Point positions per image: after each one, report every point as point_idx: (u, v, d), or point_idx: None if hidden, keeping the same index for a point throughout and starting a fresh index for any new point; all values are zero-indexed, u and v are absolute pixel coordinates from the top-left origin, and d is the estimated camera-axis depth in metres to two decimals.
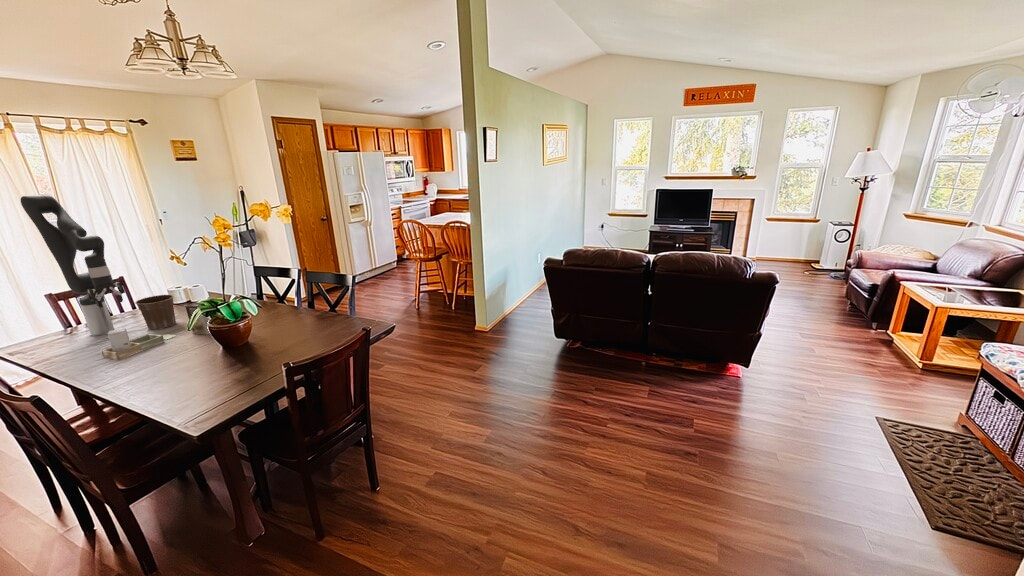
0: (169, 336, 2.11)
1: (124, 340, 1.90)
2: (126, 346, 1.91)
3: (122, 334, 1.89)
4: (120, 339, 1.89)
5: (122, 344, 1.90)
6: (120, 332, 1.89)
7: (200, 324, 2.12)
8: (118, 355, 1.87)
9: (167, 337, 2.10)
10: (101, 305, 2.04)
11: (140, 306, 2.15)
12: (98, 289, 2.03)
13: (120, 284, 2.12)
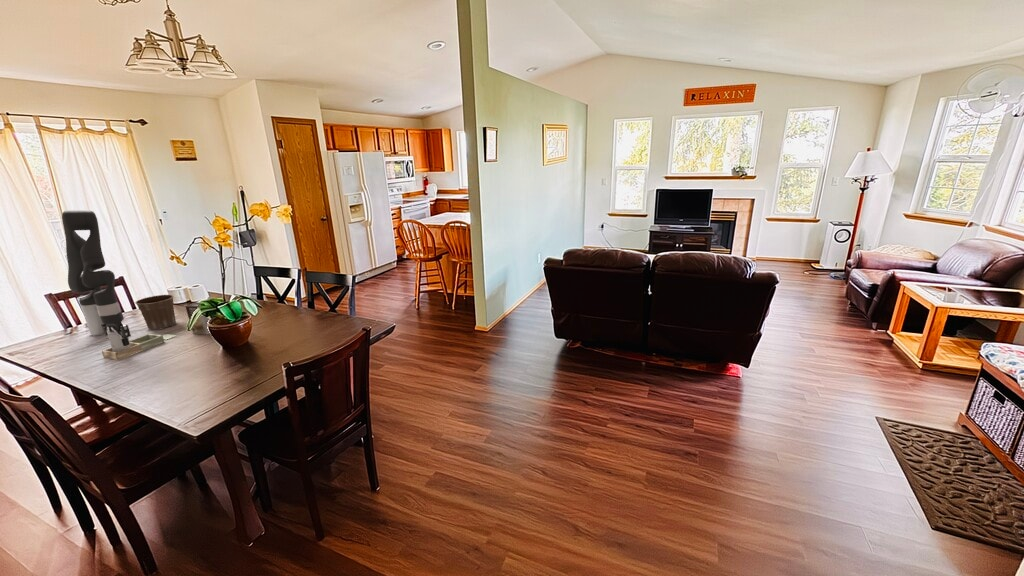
0: (169, 336, 2.11)
1: None
2: (126, 346, 1.91)
3: None
4: (120, 339, 1.89)
5: (122, 344, 1.90)
6: (120, 332, 1.89)
7: (200, 324, 2.12)
8: (118, 355, 1.87)
9: (167, 337, 2.10)
10: None
11: (140, 306, 2.15)
12: None
13: None
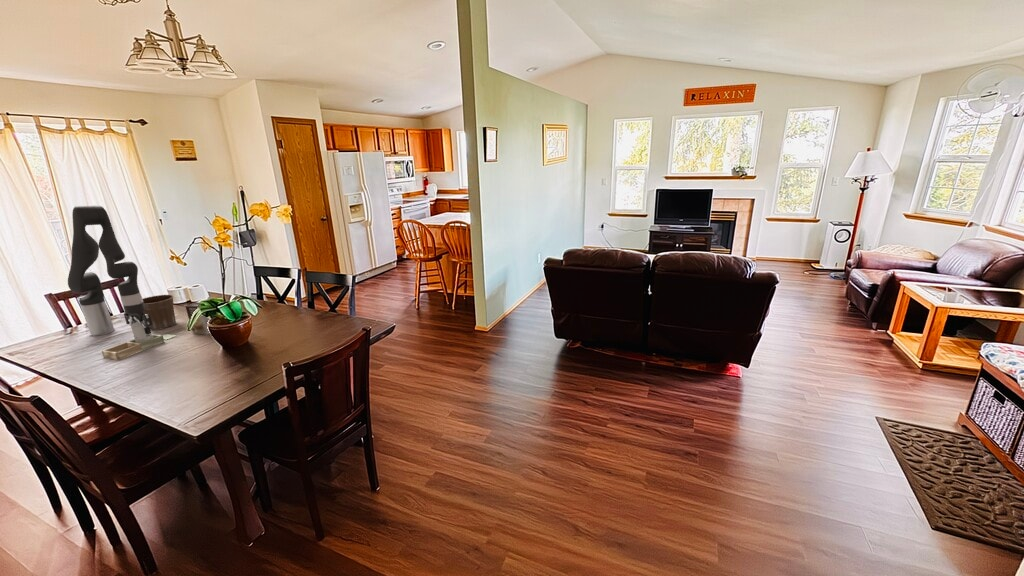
0: (169, 336, 2.11)
1: None
2: (148, 337, 2.00)
3: None
4: (143, 331, 1.98)
5: (144, 336, 1.99)
6: None
7: (200, 324, 2.12)
8: (118, 355, 1.87)
9: (167, 337, 2.10)
10: None
11: None
12: None
13: None
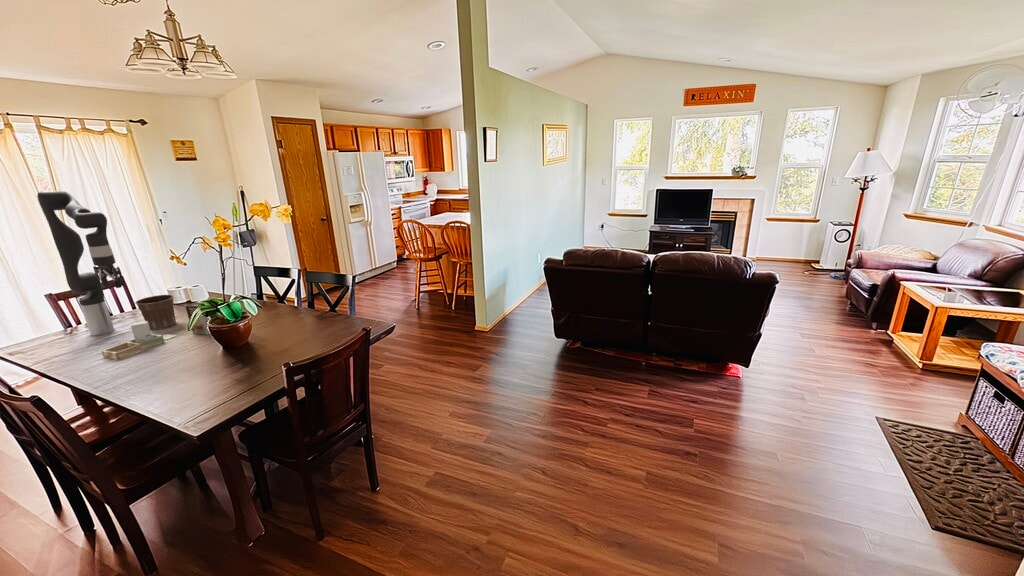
0: (169, 336, 2.11)
1: (146, 332, 1.99)
2: (148, 337, 2.00)
3: (144, 326, 1.98)
4: (143, 331, 1.98)
5: (144, 336, 1.99)
6: (143, 324, 1.98)
7: (200, 324, 2.12)
8: (118, 355, 1.87)
9: (167, 337, 2.10)
10: (120, 284, 1.95)
11: (140, 306, 2.15)
12: None
13: None
